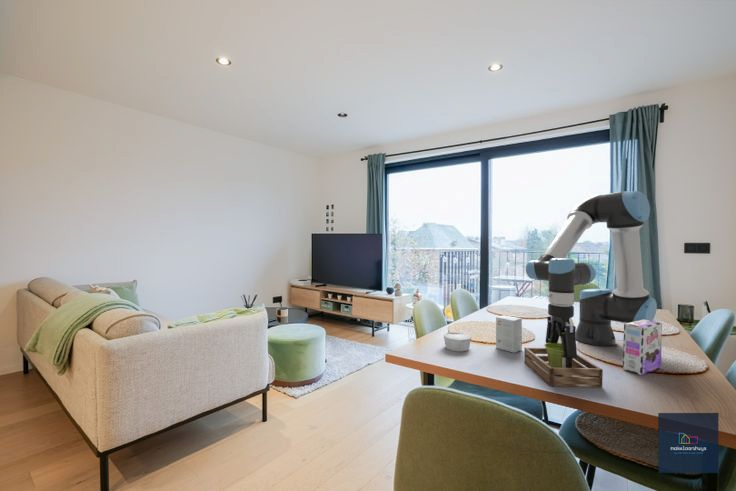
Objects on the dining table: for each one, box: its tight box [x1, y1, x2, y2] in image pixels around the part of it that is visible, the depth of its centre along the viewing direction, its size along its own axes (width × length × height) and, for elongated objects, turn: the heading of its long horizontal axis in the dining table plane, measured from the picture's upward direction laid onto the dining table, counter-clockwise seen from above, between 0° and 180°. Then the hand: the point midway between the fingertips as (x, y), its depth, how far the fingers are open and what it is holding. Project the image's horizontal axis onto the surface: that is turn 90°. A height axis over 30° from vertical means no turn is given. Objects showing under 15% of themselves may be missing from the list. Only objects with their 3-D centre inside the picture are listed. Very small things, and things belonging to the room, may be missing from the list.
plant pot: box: [544, 342, 573, 368], centre depth 113 cm, size 9×9×9 cm
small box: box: [495, 314, 523, 353], centre depth 139 cm, size 8×6×13 cm
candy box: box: [622, 319, 663, 376], centre depth 118 cm, size 14×6×16 cm, turn 117°
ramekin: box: [443, 331, 472, 353], centre depth 140 cm, size 11×11×5 cm
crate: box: [523, 347, 604, 389], centre depth 113 cm, size 16×20×6 cm
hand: (559, 371), depth 114 cm, fingers closed on plant pot, 8 cm apart
